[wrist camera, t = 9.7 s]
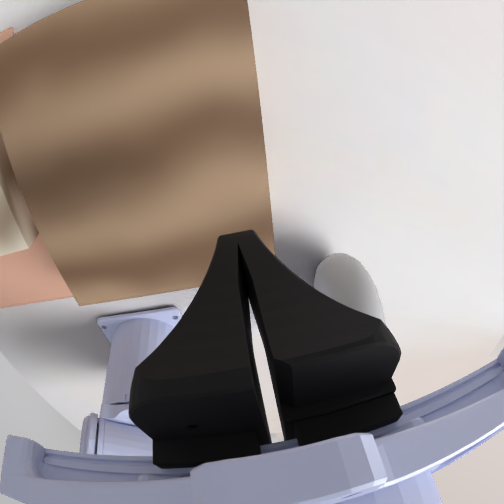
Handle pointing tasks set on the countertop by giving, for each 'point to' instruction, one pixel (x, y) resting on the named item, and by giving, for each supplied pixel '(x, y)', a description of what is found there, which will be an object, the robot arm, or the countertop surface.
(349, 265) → the donut
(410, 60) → the countertop surface
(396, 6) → the countertop surface
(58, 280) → the mat
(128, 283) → the block
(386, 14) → the countertop surface
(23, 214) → the cream rectangular block
